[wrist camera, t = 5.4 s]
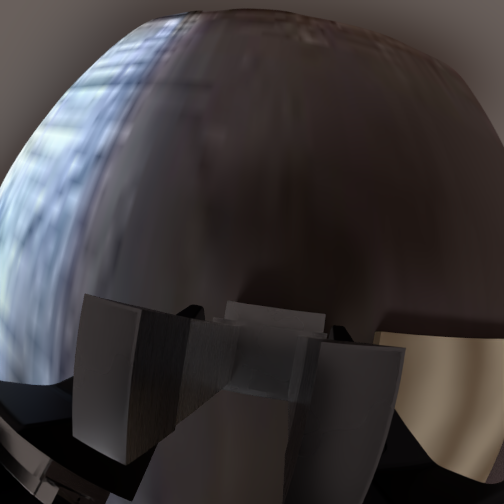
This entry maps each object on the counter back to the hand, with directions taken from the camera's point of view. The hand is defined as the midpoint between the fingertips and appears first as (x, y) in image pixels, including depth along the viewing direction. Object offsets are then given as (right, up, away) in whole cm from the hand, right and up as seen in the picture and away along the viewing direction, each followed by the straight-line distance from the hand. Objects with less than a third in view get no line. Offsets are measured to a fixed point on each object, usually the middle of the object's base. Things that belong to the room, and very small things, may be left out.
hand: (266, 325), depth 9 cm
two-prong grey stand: (+1, -3, +6) cm, 7 cm away
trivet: (+12, -10, +3) cm, 16 cm away
